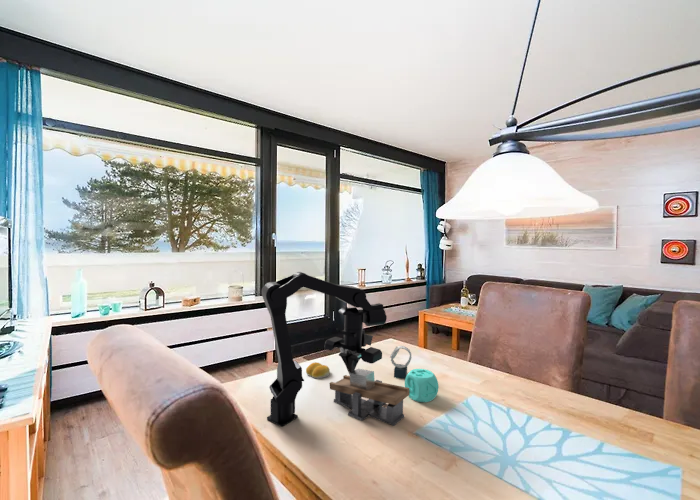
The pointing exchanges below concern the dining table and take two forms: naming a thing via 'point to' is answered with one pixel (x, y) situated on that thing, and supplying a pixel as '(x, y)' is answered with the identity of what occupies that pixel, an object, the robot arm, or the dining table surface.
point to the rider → (362, 379)
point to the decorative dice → (421, 385)
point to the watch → (399, 369)
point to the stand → (370, 408)
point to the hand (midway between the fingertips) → (351, 375)
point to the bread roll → (317, 370)
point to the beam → (373, 391)
